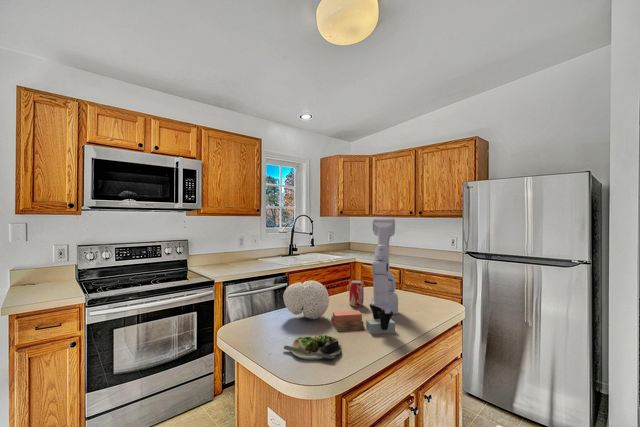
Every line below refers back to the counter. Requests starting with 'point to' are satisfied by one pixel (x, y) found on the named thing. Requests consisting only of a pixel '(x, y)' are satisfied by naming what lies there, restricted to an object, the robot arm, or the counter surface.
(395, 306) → the robot arm
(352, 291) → the soda can
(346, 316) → the terracotta brick
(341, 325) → the jig
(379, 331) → the gray block
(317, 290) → the white rounded lumpy piece
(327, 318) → the counter surface
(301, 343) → the salad plate
